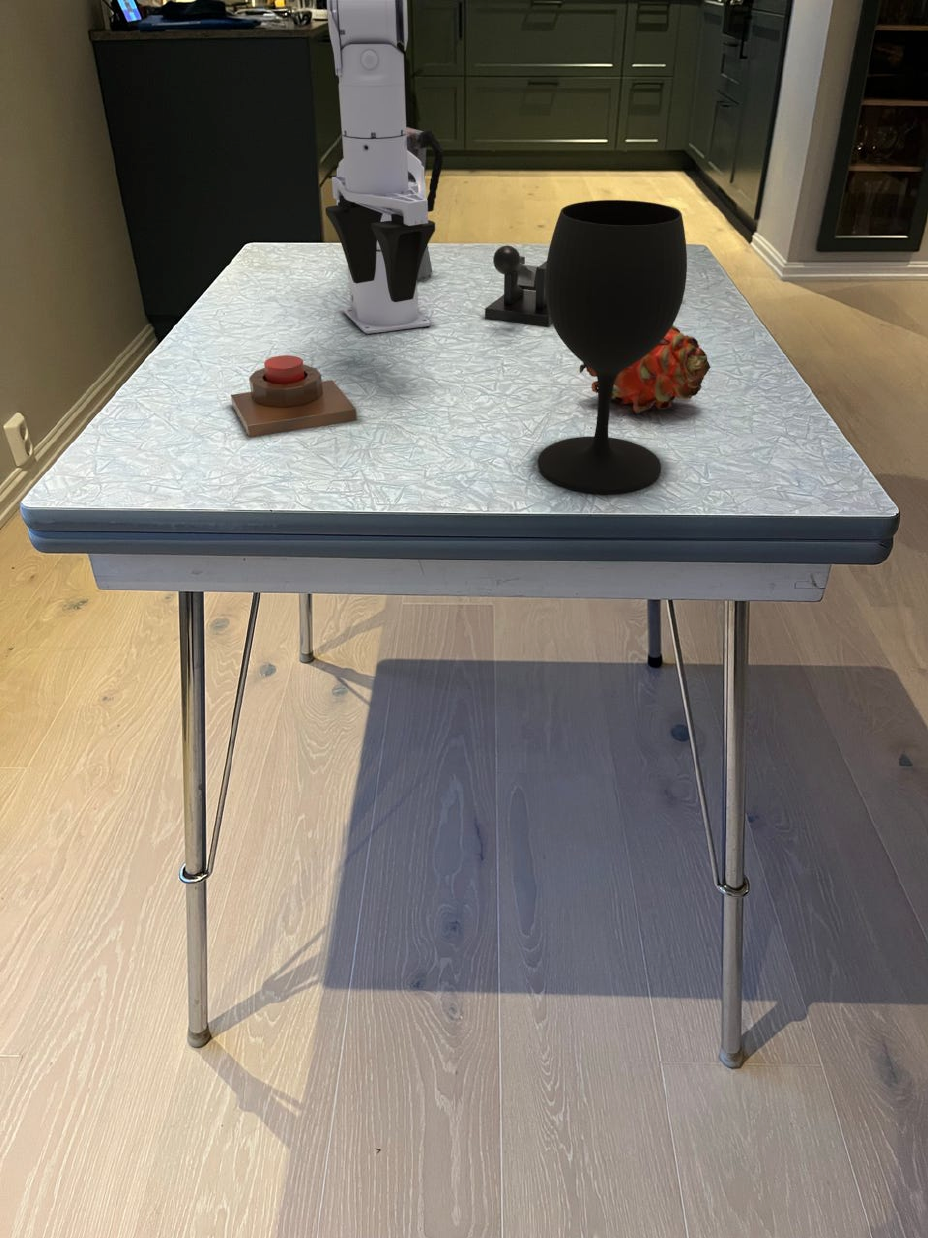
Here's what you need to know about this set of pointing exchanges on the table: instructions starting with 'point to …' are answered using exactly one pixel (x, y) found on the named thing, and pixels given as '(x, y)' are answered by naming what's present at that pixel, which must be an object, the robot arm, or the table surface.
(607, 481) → the wine glass
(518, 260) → the lever
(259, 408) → the button block
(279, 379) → the button
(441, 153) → the moka pot
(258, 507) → the table surface
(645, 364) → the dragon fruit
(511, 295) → the bracket
